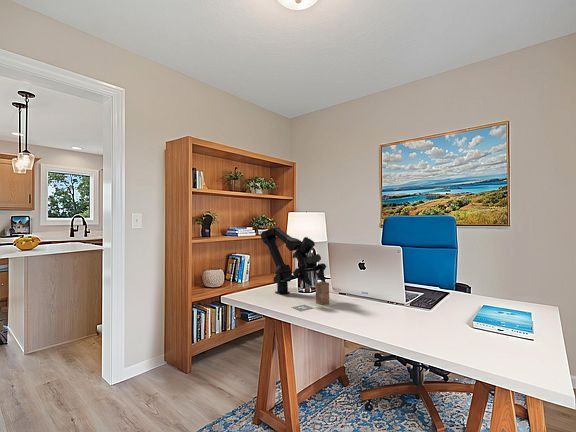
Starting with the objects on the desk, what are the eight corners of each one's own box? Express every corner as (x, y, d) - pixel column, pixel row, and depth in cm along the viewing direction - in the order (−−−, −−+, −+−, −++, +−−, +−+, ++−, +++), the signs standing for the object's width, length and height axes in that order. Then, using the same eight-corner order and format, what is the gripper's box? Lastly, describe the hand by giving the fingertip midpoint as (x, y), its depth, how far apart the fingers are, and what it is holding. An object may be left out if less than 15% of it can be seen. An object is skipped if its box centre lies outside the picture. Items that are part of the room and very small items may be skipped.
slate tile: (290, 308, 146) (290, 307, 146) (304, 305, 150) (304, 304, 150) (300, 312, 139) (300, 311, 139) (314, 309, 144) (314, 308, 144)
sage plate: (308, 303, 153) (308, 302, 153) (324, 300, 158) (324, 299, 158) (321, 308, 144) (321, 307, 144) (337, 305, 150) (337, 304, 150)
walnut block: (315, 303, 152) (315, 282, 152) (322, 301, 155) (322, 281, 155) (322, 305, 148) (322, 284, 148) (329, 303, 151) (329, 282, 151)
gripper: (296, 250, 152) (311, 276, 143) (323, 247, 164) (339, 271, 155) (286, 264, 158) (301, 290, 150) (313, 261, 170) (328, 284, 161)
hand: (318, 284), depth 154 cm, fingers open, 9 cm apart
